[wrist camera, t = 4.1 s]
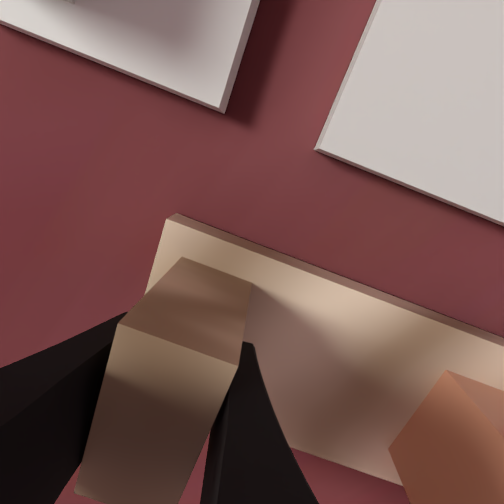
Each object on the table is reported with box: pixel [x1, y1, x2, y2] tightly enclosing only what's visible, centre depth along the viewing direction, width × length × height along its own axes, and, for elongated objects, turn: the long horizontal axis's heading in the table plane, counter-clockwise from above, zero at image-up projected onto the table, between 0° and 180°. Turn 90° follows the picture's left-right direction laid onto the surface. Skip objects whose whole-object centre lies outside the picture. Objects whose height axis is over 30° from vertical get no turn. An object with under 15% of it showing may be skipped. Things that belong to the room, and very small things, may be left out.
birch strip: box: [74, 213, 504, 504], centre depth 9 cm, size 18×7×5 cm, turn 69°
